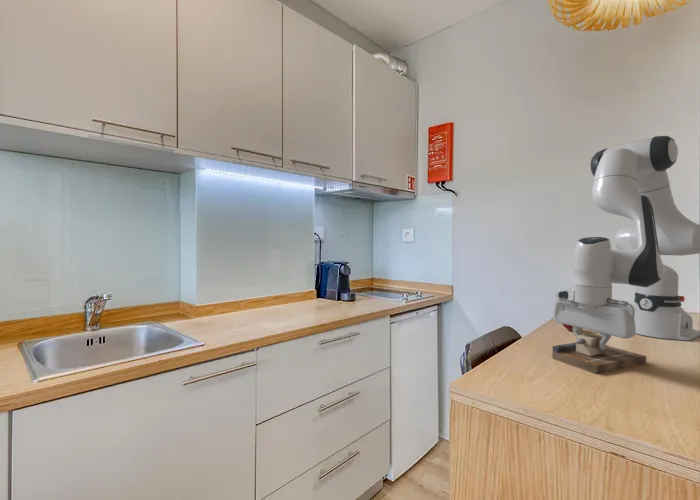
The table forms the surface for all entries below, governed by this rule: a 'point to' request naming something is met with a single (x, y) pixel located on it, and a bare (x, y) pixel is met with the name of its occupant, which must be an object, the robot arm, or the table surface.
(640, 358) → the board
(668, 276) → the robot arm
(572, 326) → the onion
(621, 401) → the table surface
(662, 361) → the table surface
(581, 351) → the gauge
